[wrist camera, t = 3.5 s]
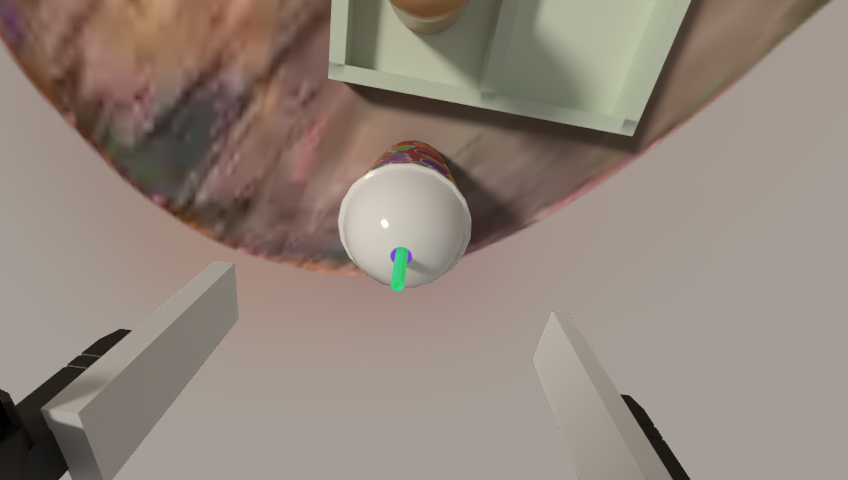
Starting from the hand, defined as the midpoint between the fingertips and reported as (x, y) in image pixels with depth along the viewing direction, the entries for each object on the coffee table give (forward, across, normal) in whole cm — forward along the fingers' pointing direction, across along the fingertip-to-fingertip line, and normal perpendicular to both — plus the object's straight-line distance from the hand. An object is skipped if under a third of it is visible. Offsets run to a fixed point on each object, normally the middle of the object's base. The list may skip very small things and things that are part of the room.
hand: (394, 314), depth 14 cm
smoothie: (+22, 0, 0) cm, 22 cm away
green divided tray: (+22, +5, +16) cm, 27 cm away
